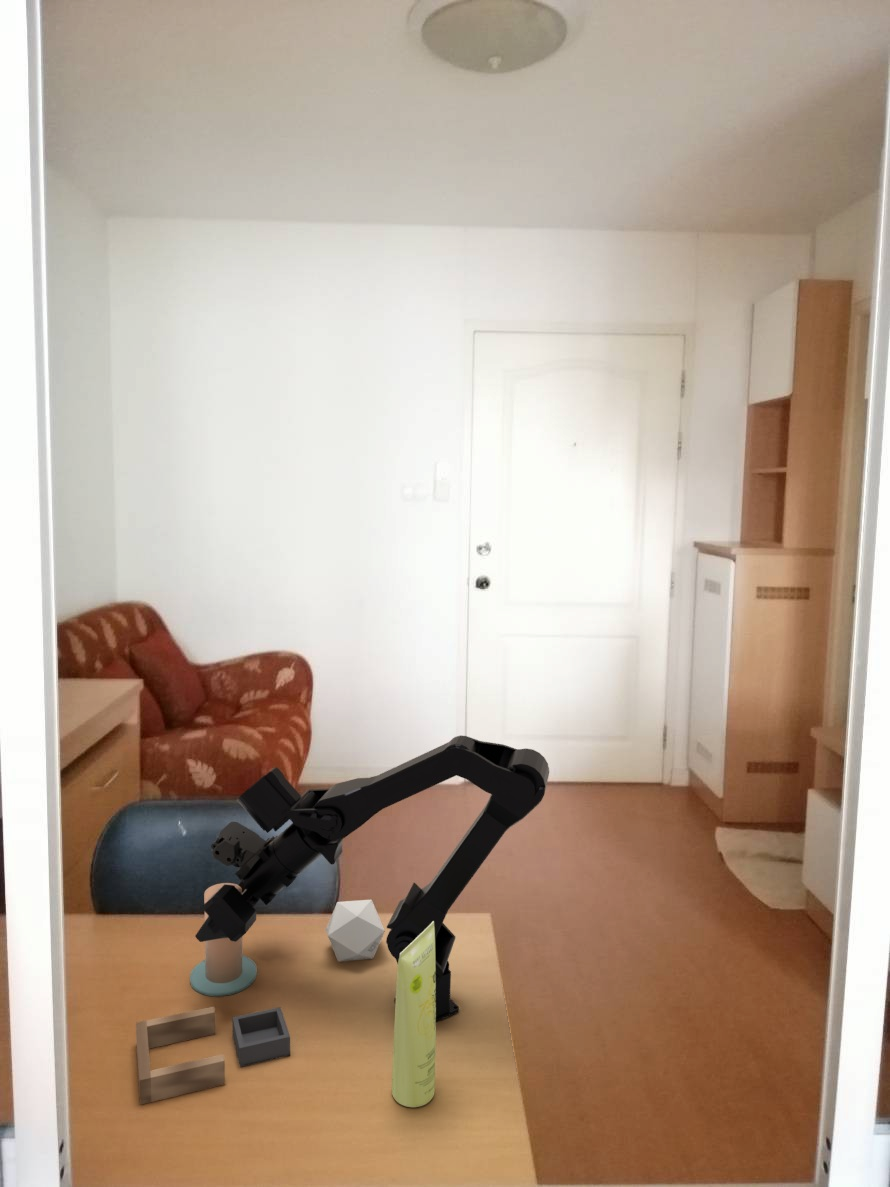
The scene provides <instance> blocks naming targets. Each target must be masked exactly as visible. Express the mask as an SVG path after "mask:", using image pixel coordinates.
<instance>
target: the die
mask: <svg viewBox="0 0 890 1187" xmlns="http://www.w3.org/2000/svg"><path fill="white" fill-rule="evenodd" d="M325 931H326V935H327V938H328V940H329V943H330V944H331V947H332V950H333V952H334V954H335V957H336V959H337V962H351V961H360V960H370V959H371V960H372V959H373V960H374V958H375V956H376V953H377V950H378V947H380V944H381V941H382V938H383V937H384V934H385V932H386V931H385V928H384V926H383V923H382V921H381V918H380V916H379V913H378V911H377V909H376V906H375V904H374V902H373V899H361V900H360V899H359V900H358V899H357V900H346V901H337V902H336V904H335V907H334V908H333V911H332V914H331V916H330V918H329V921H328V924H327V926H326V928H325Z"/></svg>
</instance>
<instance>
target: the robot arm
mask: <svg viewBox="0 0 890 1187" xmlns="http://www.w3.org/2000/svg"><path fill="white" fill-rule="evenodd" d="M549 774H550V767H549V763H548V762H547V760H546V758H545V757H544V755H542V754H541V753H540V752H538V751H537V750H535V749H533V748H532V749H531V748H520V749H517V748H514V747H511V746H508V745H506V744H502V743H501V744H500V743H496V742H489V741H483V740H478V739H476V738H474V737H470V736H467V735H458V736H454V737H452V739H451V740H449V742H446V743H444V744H441V745H440V746H437V747H435V748H434V749H431V750H429V751H426V752H424V753H423V754H421V755H418V756H416V757H414V758H411V759H410V760H407V761H406V762H403V763H401V764H399V765H397V766H395V767H393V768H390V769H387V770H386V771H384V772H382V773H380V774H378V775H375V776H374V775H373V776H369V777H358V778H354V779H349V780H346V781H342V782H339V783H335V784H333V785H332V786H331V787H330V788H315V789H314V788H310V789H307V790H306V791H305V793H303V794H302V795H301V794H300V793H299V792H298V791H297V790H296V788H294V786H293V785H292V784H291V783H290V782H289V781H288V779H287V778H286V777H285V775H284V773H283V772H282V771H281V769H280V768H279V767H278V766H274V767H273V768H272V769H271V770H270V771H268V772H267V773H266V774H264V775H263V776H261V777H260V778H259V779H258V780H257V781H256V782H254V783H253V784H252V785H251V786H250V787H248V788H247V789H246V790H245V791H244V792H243V793H242V794H241V795H240V796H239V797H238V798H237V799H236V801H237V803H239V805H240V806H241V807H242V808H243V809H244V810H245V812H247V813H248V815H249V816H250V817H251V818H252V819H253V820H254V822H256V824H258V826H259V827H260V828H261V830H263V831H265V832H266V834H268V833H270V832H271V831H272V830H273V831H274V832H277V831H278V830H279V829H280V828H282V827H283V826H284V825H285V824H286V823H288V821H289V820H290V822H291V824H290V825H289V826H287V827H286V828H285V829H284V830H283V831H282V832H281V833H279V834H278V835H276V836H272V837H271V838H269V837H267V838H266V839H264V838H262V837H261V836H260V835H259V834H258V833H257V832H255V831H253V830H251V829H250V828H248V827H246V826H245V825H243V824H241V823H239V822H238V821H231V822H229V823H228V824H227V825H226V826H224V827H223V828H222V829H221V830H220V831H219V833H218V835H217V838H216V840H214V841H213V842H212V844H211V845H210V848H211V849H210V850H211V852H210V853H211V854H212V857H213V858H214V860H216V861H218V862H219V863H221V864H223V865H224V866H226V867H228V866H229V867H230V866H233V867H235V868H238V869H237V870H236V871H235V872H234V874H235V876H236V877H237V878H239V880H240V882H239V883H238V885H239V886H240V887H241V888H242V894H241V893H240V892H239V891H238V890H237V889H236V887H235V886H234V885H226V884H224V885H223V886H222V887H221V888H220V889H219V890H218V891H217V892H216V893H215V894H214V895H213V896H212V897H211V898H210V899H209V900H208V901H207V902H206V903H205V904H203V911H204V913H205V912H206V913H207V914H208V915H209V916H208V918H207V919H206V921H205V920H204V922H203V924H202V925H201V926H200V928H199V929H198V931H197V933H195V938H196V940H197V941H198V942H201V943H202V942H205V941H209V940H215V939H221V938H229V939H230V940H231V941H235V942H236V941H237V940H239V939H240V938H241V937H242V938H243V937H244V936H245V935H246V933H247V932H248V931H249V930H250V928H251V927H252V926H253V925H254V923H255V922H256V921H257V910H256V909H255V906H256V904H257V903H258V902H259V900H261V902H263V904H264V905H265V906H267V905H269V903H271V902H272V901H273V899H275V897H276V896H277V894H278V893H280V892H281V891H282V890H283V889H284V888H288V887H289V886H290V885H291V884H292V883H293V882H294V881H295V880H296V879H297V877H298V876H299V875H300V874H301V873H302V872H303V871H304V870H306V869H307V868H308V867H310V865H311V864H313V863H314V862H315V861H317V859H319V858H320V857H321V856H322V857H324V859H325V860H326V861H327V862H328V863H329V864H330V865H335V864H336V862H337V860H338V859H339V858H340V857H341V855H342V854H343V851H344V850H343V844H342V842H343V840H344V839H346V837H347V836H349V835H351V834H352V833H353V832H354V831H356V830H358V829H359V828H361V827H363V825H365V823H367V822H368V821H369V820H371V819H372V818H373V817H374V816H375V815H376V814H379V812H381V811H382V810H384V809H386V808H388V807H390V806H392V805H395V804H397V803H399V802H401V801H403V800H406V799H407V798H410V797H412V796H415V795H417V794H419V793H421V792H423V791H425V790H427V789H430V788H432V787H434V786H437V785H439V784H440V783H443V782H445V781H447V780H449V779H452V778H453V777H456V776H457V777H460V778H462V779H465V780H467V781H468V782H470V783H471V784H473V785H475V786H476V787H478V788H479V789H481V790H482V791H483V792H486V793H488V794H490V796H489V798H488V801H487V802H486V804H485V805H484V807H483V808H482V810H481V811H480V813H479V814H478V815H477V817H476V818H475V820H474V821H473V822H472V824H471V825H470V826H469V828H468V830H467V831H466V832H465V834H464V835H463V836H462V838H461V840H460V841H459V842H458V843H457V845H456V847H455V848H454V849H453V851H452V852H451V853H450V855H449V856H448V857H447V859H446V861H445V862H444V863H443V865H442V866H441V867H440V869H439V870H438V872H437V873H436V875H435V876H434V877H433V879H432V880H431V881H430V882H429V883H428V884H426V885H425V886H424V887H422V888H421V887H420V886H419V885H418V884H417V883H416V882H412V885H411V887H410V888H409V891H408V893H407V894H406V896H405V897H404V898H403V899H401V900H400V901H399V902H398V904H397V906H396V908H395V910H394V911H393V913H392V916H391V917H390V919H389V921H388V923H387V925H386V929H388V930H389V932H388V934H387V936H386V941H385V943H386V945H387V950H388V951H389V953H390V954H391V956H392V957H393V959H395V960H396V963H397V965H398V960H399V956H400V953H401V952H402V951H403V950H404V949H405V948H406V947H407V946H408V945H409V944H411V943H412V942H413V941H414V940H415V939H416V938H417V937H418V936H419V935H420V934H421V933H422V932H423V931H424V930H425V929H426V928H427V927H428V926H429V925H430V924H431V923H432V922H433V921H434V928H435V964H436V1022H438V1021H441V1020H443V1019H445V1018H447V1017H448V1018H449V1017H450V1016H453V1015H455V1014H457V1013H459V1011H460V1007H459V1005H458V1004H457V1003H455V1002H454V1000H452V999H451V983H452V982H451V979H452V975H451V974H452V971H451V970H450V963H449V958H450V955H451V952H452V949H453V947H454V943H455V941H456V935H455V934H454V933H453V932H452V931H451V930H450V929H449V928H448V927H447V925H445V922H444V921H445V919H446V916H447V914H448V912H449V910H450V909H451V907H452V905H454V903H455V902H456V900H457V899H458V898H459V896H460V894H462V892H463V891H464V889H465V888H466V887H467V885H468V884H469V882H470V881H471V880H472V878H473V877H474V875H475V874H476V873H477V872H478V870H479V869H480V867H481V866H482V865H483V863H484V862H485V861H486V859H487V858H488V856H489V855H490V853H491V852H492V851H493V850H494V848H495V847H496V845H498V842H499V841H500V840H501V839H502V837H503V835H504V834H505V833H506V831H508V830H509V829H510V828H511V827H513V826H514V825H516V824H518V823H519V822H521V821H522V820H523V819H524V818H526V816H528V814H530V813H531V812H532V811H533V810H534V809H535V808H537V807H538V805H539V804H541V802H542V801H543V799H544V797H545V793H546V790H547V785H548V780H549V776H550V775H549ZM393 1003H394V1004H395V1003H396V997H394V1000H393Z"/></svg>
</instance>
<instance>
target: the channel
mask: <svg viewBox="0 0 890 1187" xmlns="http://www.w3.org/2000/svg"><path fill="white" fill-rule="evenodd" d="M135 1029H136V1030H135V1031H136V1032H135V1034H136V1035H135V1036H136V1054H137V1055H136V1056H137V1075H138V1076H137V1077H138V1092H139V1106H141V1105H145V1104H150V1103H154V1102H157V1101H162V1100H165V1099H170V1098H175V1097H178V1096H182V1095H186V1094H190V1093H191V1094H192V1093H195V1092H199V1091H202V1090H203V1091H204V1090H206V1089H207V1090H208V1089H210V1088H214V1087H216V1088H217V1087H219V1086H223V1085H226V1076H225V1075H226V1068H225V1067H226V1063H225V1061H226V1060H225V1055H224V1053H222V1054H221V1053H220V1054H217V1055H212V1056H208V1057H204V1058H200V1059H195V1060H191V1061H185V1062H181V1063H177V1064H173V1065H170V1066H163V1067H160V1068H155V1069H152V1070H151V1063H150V1060H151V1059H150V1049H154V1048H158V1047H162V1046H167V1045H172V1044H176V1043H181V1042H185V1041H190V1040H194V1039H195V1040H196V1039H199V1038H204V1037H208V1036H212V1035H213V1036H214V1035H216V1012H215V1006H210V1007H205V1008H200V1009H194V1010H190V1011H186V1012H180V1013H177V1014H175V1013H174V1014H172V1015H166V1016H162V1017H161V1016H160V1017H156V1018H151V1019H146V1020H143V1021H137V1022H136V1023H135Z"/></svg>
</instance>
